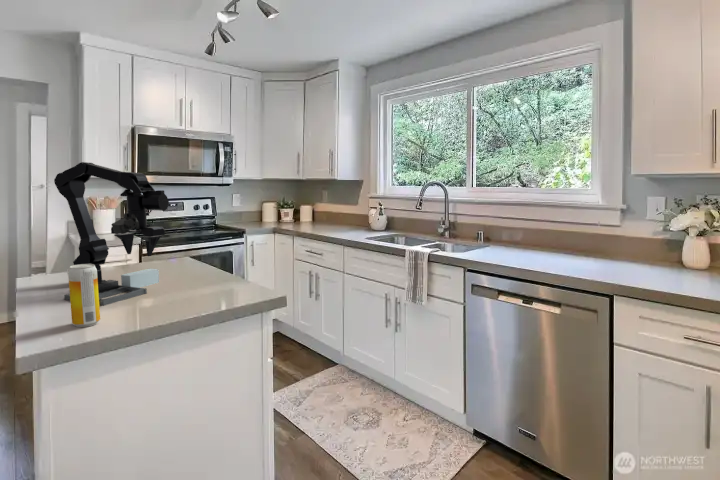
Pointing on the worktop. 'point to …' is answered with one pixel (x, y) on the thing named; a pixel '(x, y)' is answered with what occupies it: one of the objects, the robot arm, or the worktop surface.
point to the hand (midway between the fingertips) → (139, 255)
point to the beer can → (84, 295)
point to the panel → (140, 278)
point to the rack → (114, 292)
